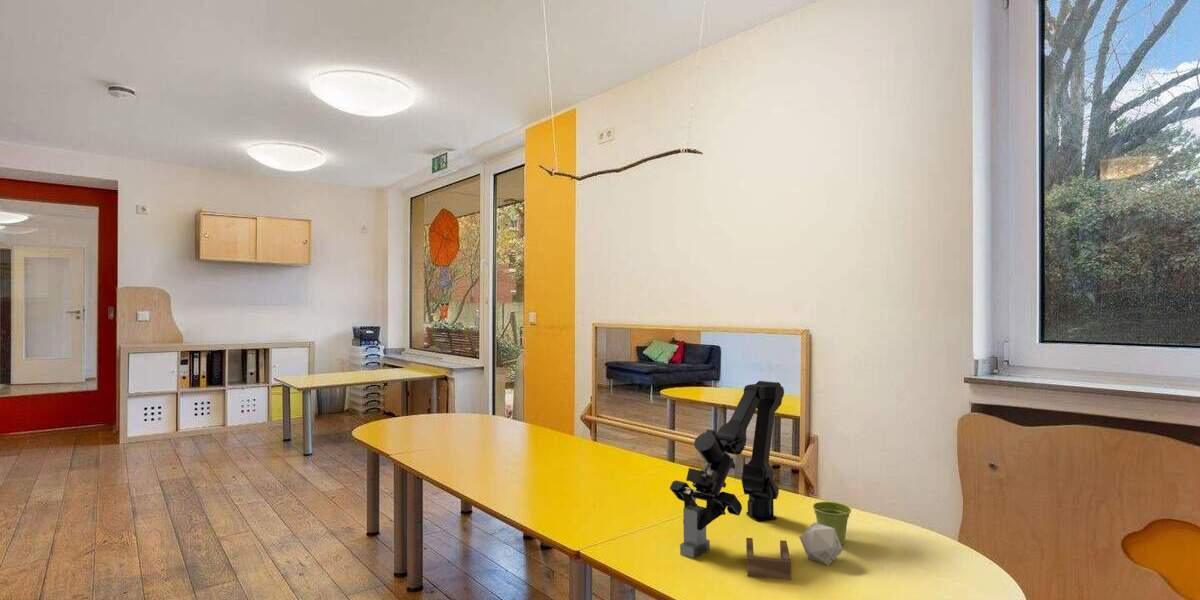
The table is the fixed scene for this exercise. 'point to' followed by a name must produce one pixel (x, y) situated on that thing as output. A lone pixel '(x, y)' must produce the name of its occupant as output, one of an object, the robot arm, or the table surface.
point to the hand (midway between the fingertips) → (691, 527)
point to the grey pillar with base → (694, 533)
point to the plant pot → (833, 517)
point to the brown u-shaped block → (768, 563)
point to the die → (821, 543)
